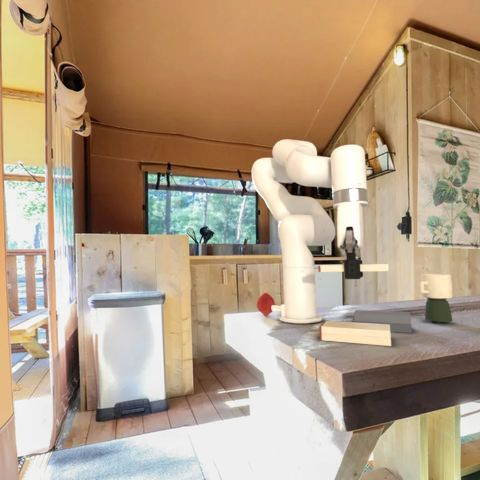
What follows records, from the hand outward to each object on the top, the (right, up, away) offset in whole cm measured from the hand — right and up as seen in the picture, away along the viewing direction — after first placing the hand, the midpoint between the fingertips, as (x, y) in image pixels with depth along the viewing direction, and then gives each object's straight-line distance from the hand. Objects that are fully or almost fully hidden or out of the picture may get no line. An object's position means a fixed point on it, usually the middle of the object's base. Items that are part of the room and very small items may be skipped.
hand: (354, 277), depth 69 cm
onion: (-17, -16, +30) cm, 38 cm away
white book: (0, +1, 0) cm, 1 cm away
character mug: (+28, -14, +14) cm, 35 cm away
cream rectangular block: (0, -13, -1) cm, 14 cm away
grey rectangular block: (+10, -14, +8) cm, 19 cm away
